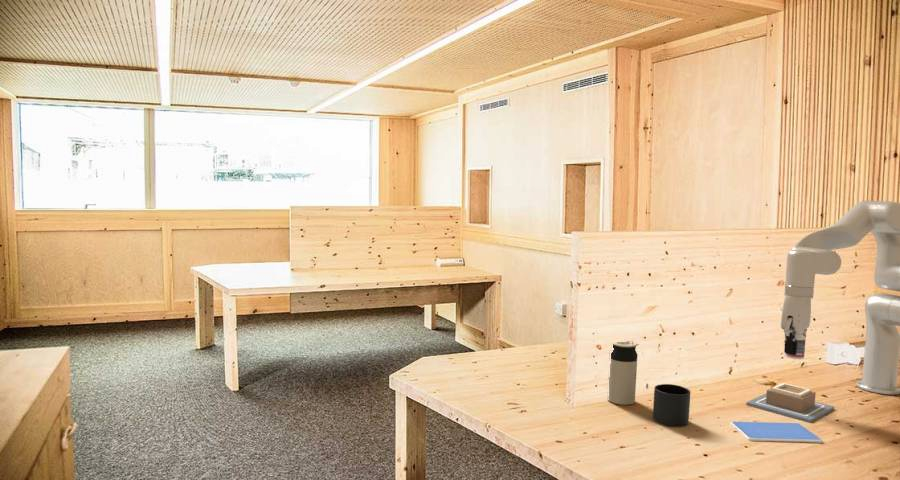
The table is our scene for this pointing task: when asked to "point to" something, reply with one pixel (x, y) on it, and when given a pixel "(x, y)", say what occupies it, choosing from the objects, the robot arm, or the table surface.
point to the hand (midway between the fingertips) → (794, 351)
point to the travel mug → (623, 373)
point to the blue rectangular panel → (775, 432)
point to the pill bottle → (798, 346)
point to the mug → (671, 405)
